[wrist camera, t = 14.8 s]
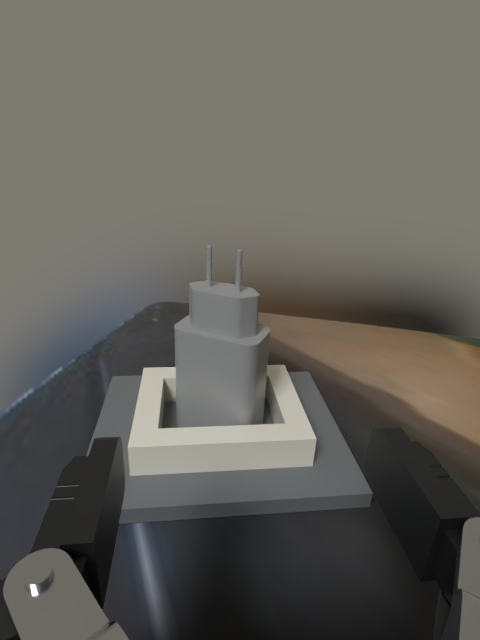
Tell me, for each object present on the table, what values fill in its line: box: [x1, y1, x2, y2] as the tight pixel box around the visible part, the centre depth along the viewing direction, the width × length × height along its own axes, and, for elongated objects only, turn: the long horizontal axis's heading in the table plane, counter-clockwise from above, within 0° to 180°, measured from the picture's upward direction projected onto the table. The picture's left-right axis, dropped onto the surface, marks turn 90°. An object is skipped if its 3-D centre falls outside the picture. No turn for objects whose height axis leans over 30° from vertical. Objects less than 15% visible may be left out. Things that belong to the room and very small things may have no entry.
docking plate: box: [86, 365, 373, 524], centre depth 27 cm, size 16×13×3 cm
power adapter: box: [175, 245, 270, 428], centre depth 24 cm, size 3×5×12 cm, turn 67°
